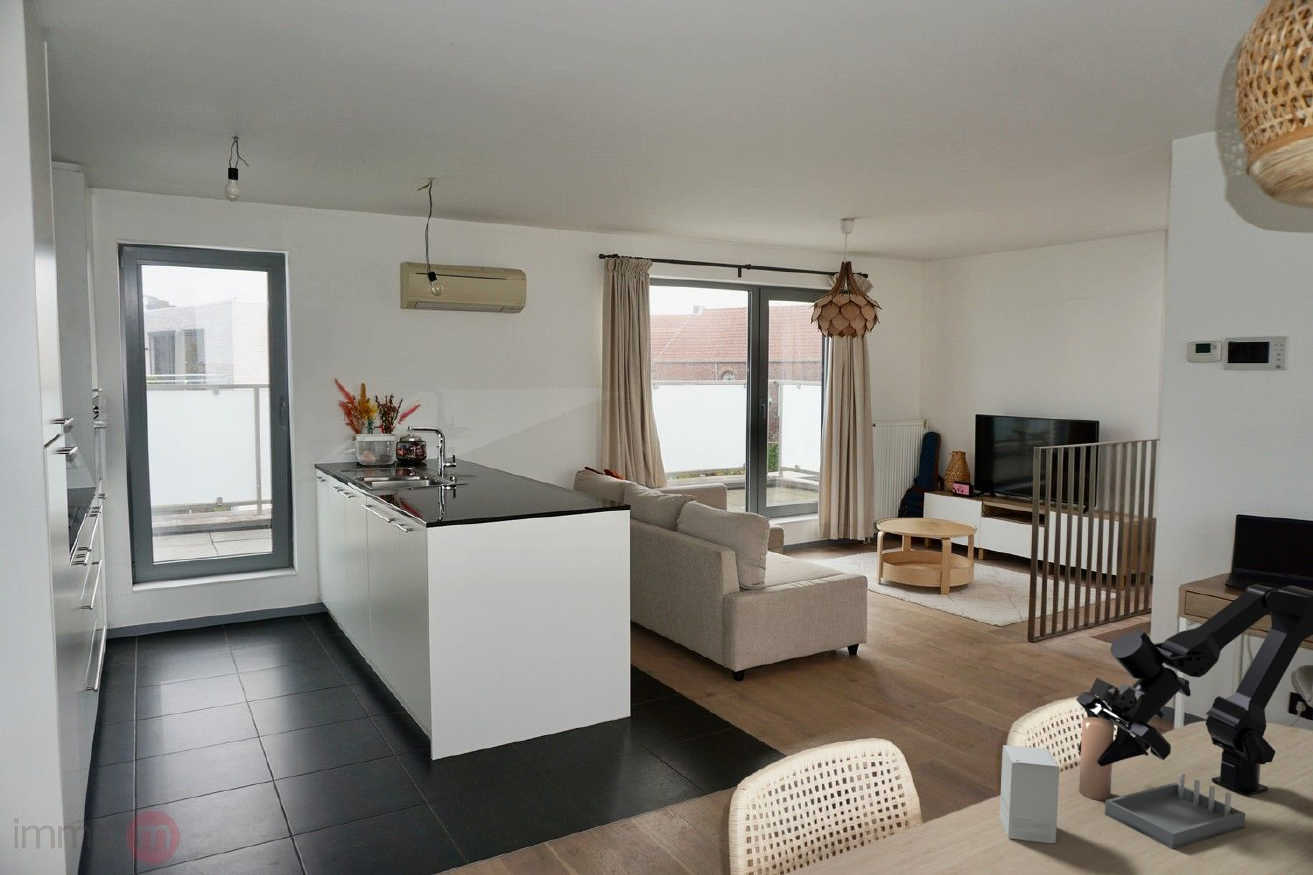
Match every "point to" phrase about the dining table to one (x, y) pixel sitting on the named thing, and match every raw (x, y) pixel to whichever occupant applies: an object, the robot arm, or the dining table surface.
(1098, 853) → the dining table surface
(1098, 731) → the peach pillar candle
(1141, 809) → the drying tray
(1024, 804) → the supplement box
